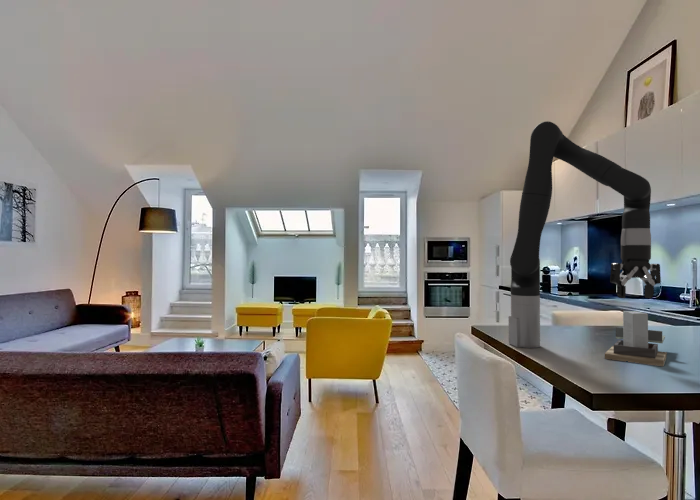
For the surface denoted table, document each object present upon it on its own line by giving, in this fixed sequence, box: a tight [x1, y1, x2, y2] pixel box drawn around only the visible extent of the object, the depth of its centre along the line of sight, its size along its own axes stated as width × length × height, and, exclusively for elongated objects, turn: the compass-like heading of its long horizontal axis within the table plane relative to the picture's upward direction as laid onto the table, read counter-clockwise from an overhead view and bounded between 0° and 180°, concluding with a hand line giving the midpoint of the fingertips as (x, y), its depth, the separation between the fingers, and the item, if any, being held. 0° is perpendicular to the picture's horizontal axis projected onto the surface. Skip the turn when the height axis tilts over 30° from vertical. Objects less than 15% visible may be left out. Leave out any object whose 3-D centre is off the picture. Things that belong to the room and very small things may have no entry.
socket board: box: [604, 339, 668, 367], centre depth 126 cm, size 14×14×4 cm
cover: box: [615, 326, 666, 344], centre depth 135 cm, size 12×12×4 cm
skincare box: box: [622, 310, 649, 348], centre depth 126 cm, size 6×4×12 cm
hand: (635, 298), depth 126 cm, fingers open, 8 cm apart
